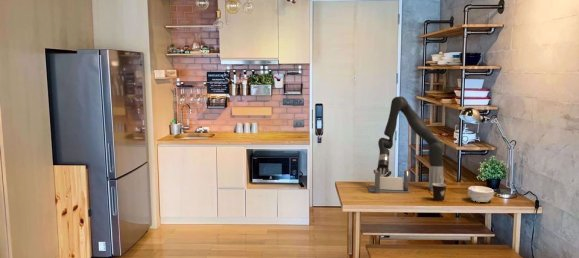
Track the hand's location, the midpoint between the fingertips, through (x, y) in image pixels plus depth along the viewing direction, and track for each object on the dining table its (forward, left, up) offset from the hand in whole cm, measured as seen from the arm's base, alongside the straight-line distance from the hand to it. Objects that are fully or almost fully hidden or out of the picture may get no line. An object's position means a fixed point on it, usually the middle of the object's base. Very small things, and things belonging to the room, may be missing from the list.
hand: (381, 182), depth 318 cm
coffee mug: (-39, +3, -6) cm, 39 cm away
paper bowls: (-63, -10, -6) cm, 64 cm away
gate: (-5, -1, -4) cm, 7 cm away
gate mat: (-3, -5, -6) cm, 8 cm away
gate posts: (-8, +1, -6) cm, 10 cm away
